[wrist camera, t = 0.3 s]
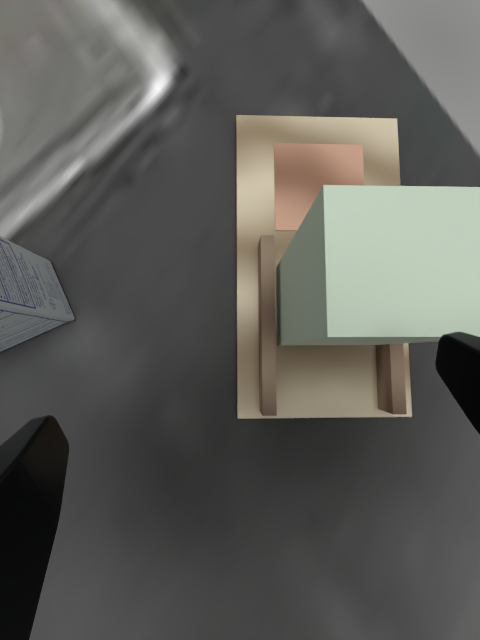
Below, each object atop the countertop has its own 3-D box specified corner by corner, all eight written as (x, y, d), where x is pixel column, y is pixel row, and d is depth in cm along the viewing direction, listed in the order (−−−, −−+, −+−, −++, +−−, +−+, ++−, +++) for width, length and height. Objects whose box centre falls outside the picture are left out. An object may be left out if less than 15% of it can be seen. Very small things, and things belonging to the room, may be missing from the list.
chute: (405, 414, 23) (430, 422, 20) (237, 416, 23) (238, 425, 20) (391, 126, 25) (412, 97, 22) (236, 122, 25) (237, 93, 22)
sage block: (371, 345, 22) (512, 336, 11) (277, 345, 22) (327, 336, 11) (368, 267, 23) (500, 187, 12) (276, 267, 23) (323, 184, 12)
